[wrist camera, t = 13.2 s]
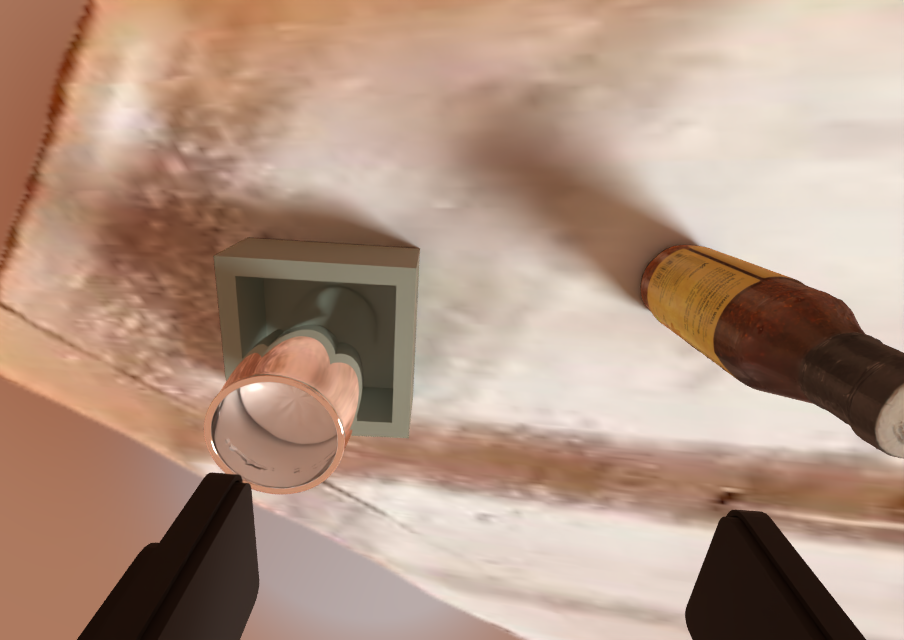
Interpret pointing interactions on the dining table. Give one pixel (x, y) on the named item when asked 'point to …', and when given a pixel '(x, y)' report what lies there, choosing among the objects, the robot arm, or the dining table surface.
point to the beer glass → (295, 396)
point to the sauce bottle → (780, 338)
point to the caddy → (317, 266)
